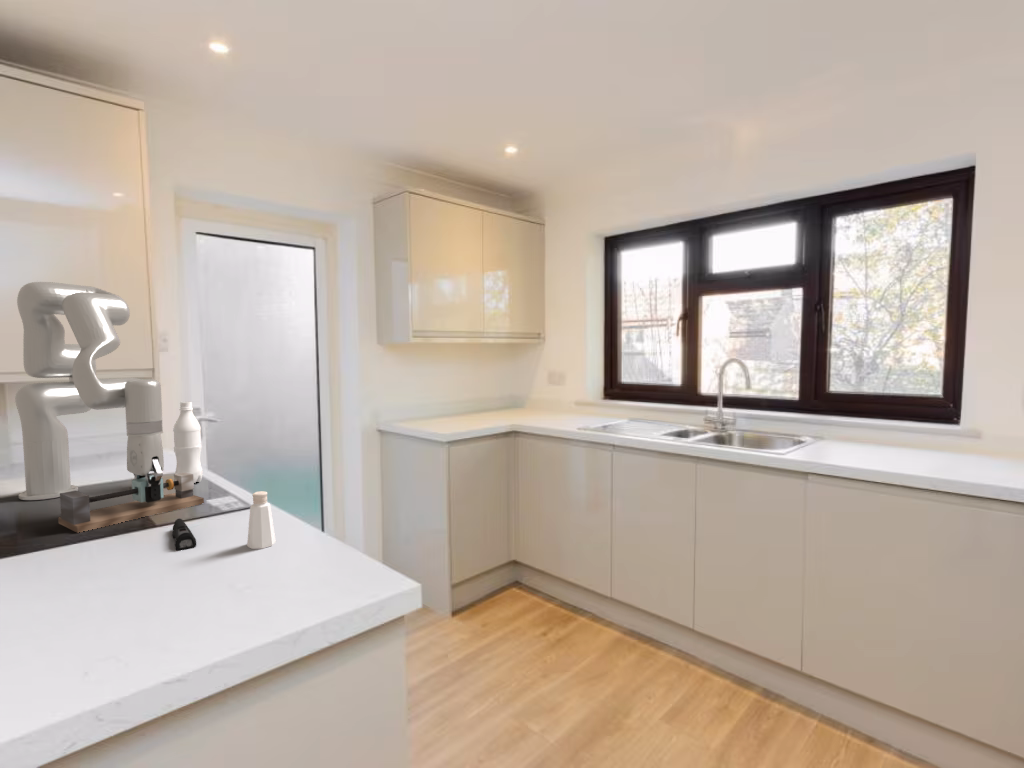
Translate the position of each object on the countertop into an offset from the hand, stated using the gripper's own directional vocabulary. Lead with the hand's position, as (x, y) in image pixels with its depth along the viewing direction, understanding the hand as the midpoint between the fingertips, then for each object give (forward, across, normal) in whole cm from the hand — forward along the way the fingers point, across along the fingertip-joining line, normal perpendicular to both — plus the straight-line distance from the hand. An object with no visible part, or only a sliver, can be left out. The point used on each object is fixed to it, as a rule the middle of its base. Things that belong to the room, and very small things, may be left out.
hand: (148, 498), depth 134 cm
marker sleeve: (0, 0, 0) cm, 0 cm away
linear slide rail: (+3, 0, -3) cm, 4 cm away
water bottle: (+3, -20, +19) cm, 28 cm away
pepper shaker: (+3, +47, +2) cm, 47 cm away
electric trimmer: (+4, +30, -5) cm, 30 cm away
